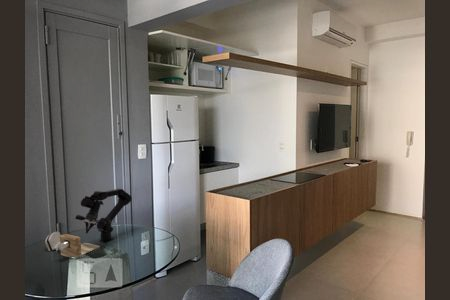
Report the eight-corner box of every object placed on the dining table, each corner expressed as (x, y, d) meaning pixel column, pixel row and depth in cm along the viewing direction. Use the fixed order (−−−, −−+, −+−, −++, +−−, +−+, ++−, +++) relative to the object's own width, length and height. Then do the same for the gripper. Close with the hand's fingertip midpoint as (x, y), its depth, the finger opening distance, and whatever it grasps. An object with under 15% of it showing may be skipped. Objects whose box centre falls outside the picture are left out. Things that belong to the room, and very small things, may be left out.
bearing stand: (85, 244, 224) (83, 226, 223) (99, 248, 218) (98, 229, 216) (61, 255, 209) (59, 235, 207) (76, 259, 202) (74, 239, 201)
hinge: (56, 250, 216) (50, 237, 214) (49, 253, 215) (42, 240, 214) (65, 240, 232) (59, 228, 231) (59, 243, 232) (53, 230, 230)
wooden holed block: (73, 243, 211) (72, 236, 210) (78, 245, 209) (78, 237, 208) (57, 250, 201) (56, 242, 201) (62, 251, 199) (62, 243, 198)
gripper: (77, 205, 213) (69, 229, 208) (106, 211, 215) (99, 236, 210) (81, 207, 223) (73, 230, 218) (109, 213, 226) (101, 236, 221)
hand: (86, 233), depth 217 cm, fingers closed
